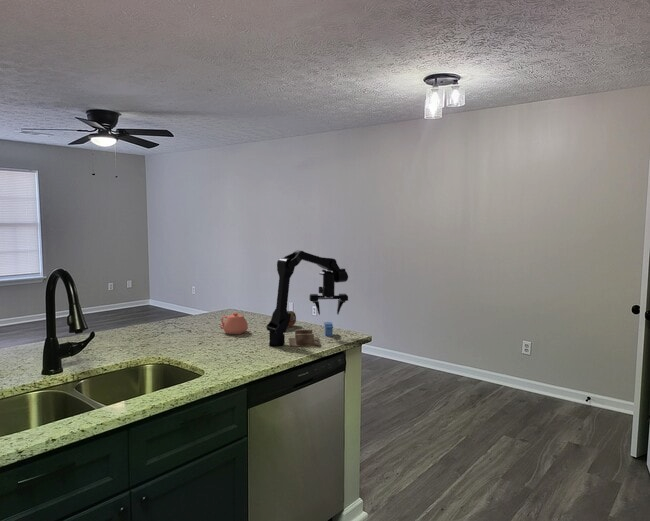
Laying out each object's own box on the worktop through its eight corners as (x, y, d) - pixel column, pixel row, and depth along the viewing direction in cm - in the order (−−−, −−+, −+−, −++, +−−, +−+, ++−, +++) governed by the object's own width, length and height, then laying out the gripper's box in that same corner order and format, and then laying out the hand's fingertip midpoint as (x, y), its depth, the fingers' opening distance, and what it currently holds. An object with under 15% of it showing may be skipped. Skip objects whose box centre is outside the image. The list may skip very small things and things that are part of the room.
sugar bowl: (245, 336, 227) (245, 315, 226) (217, 335, 227) (216, 315, 227) (250, 330, 239) (249, 310, 239) (223, 329, 240) (222, 310, 239)
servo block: (326, 337, 225) (326, 325, 225) (324, 332, 234) (324, 321, 234) (333, 337, 226) (333, 325, 225) (330, 332, 235) (330, 321, 234)
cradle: (289, 347, 208) (289, 336, 207) (288, 339, 222) (288, 328, 221) (320, 346, 210) (320, 335, 209) (317, 338, 223) (317, 328, 223)
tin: (277, 330, 238) (277, 314, 238) (273, 329, 240) (273, 313, 240) (296, 325, 250) (296, 310, 250) (292, 324, 252) (292, 309, 252)
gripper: (344, 281, 237) (344, 311, 238) (308, 281, 235) (308, 311, 236) (348, 284, 226) (348, 315, 227) (310, 284, 224) (310, 316, 225)
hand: (328, 314), depth 229 cm, fingers open, 9 cm apart
